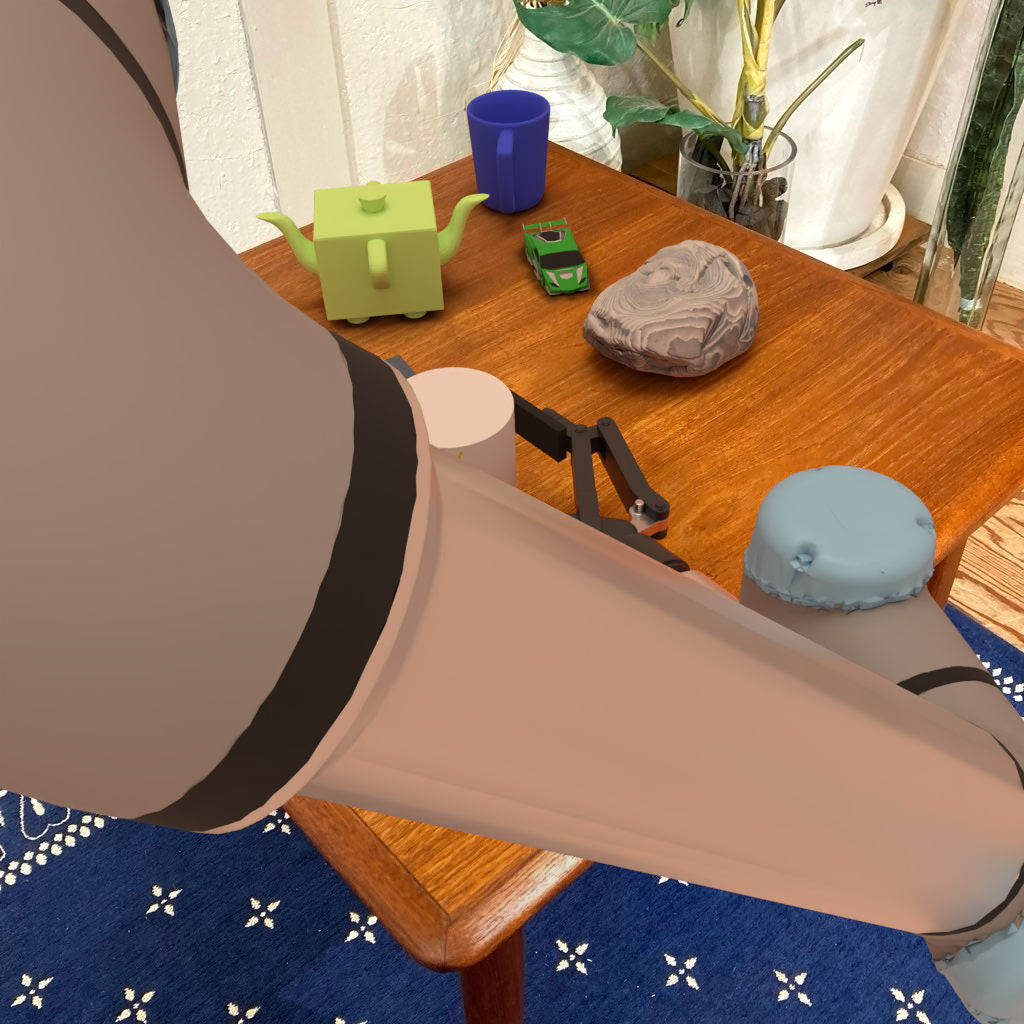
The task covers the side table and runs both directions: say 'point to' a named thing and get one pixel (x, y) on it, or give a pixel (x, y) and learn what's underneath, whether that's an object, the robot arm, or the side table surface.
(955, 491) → the side table surface
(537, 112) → the mug
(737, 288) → the decorative stone
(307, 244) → the teapot
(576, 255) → the toy car
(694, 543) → the side table surface
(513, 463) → the doodled pink cylinder
